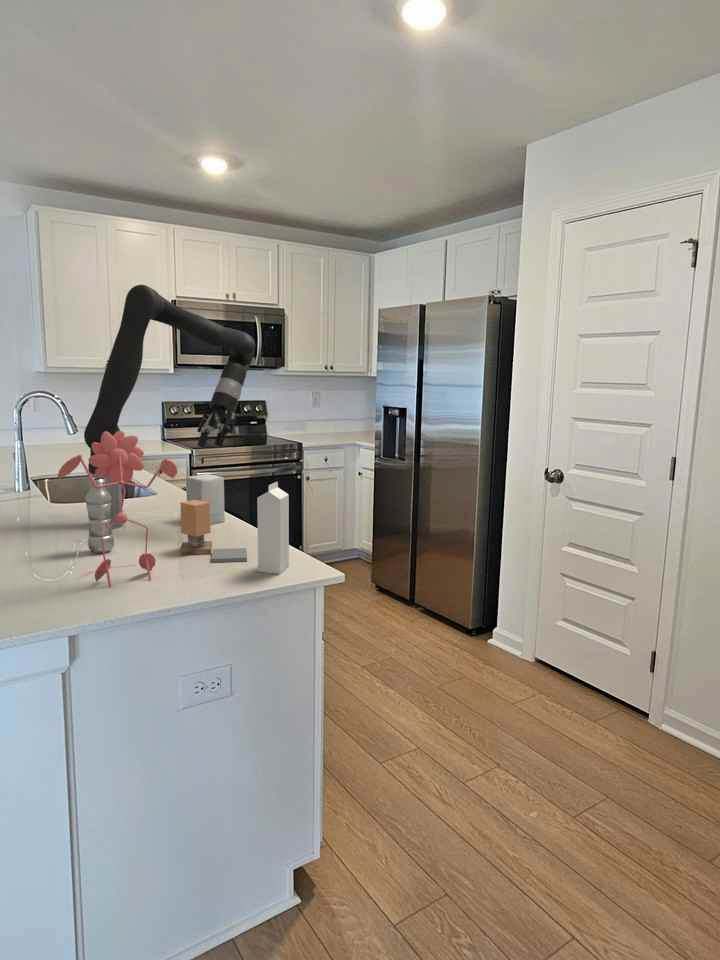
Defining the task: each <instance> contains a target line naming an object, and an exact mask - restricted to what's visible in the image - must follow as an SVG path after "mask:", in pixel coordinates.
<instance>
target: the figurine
mask: <svg viewBox="0 0 720 960" xmlns="http://www.w3.org/2000/svg"><path fill="white" fill-rule="evenodd" d="M138 441H139V438H138V436H137V435H134V434H133V435H125V431H123V430H120V431H118V432H116V433H115V434H114V435H113V436H112V435H111V434H110V433H109V432H107V431H106V432H103V433H102V436H101V443H97V442H94V443H92V450H93V452H94V454H95V455H93V456H91V457H89V458H88V460H87V462H88V464H89V463H90V464H91V465H93V466H95V467H97V469H96V470H95V476H96V477H98V478H100V477H108V481H109V482H110V484H105V485H100V486H96V484H95V482H94V480H93V478H92V476H91V474H90V472H89V470H88V466H87V465H86V463H85V461H84V459H83V455H82V454H78V455H76V456H73V457H71V458H70V459H69V460H67V461H66V462H65V463H64V464H63V465H62V466H61V467H60V468H59V470H58V473H57V480H59V479H62V478H64V477H66V476H69V474H71V473H72V472H73V471H75V470H76V468H77V467H79V466H80V463H81V465H82V466H83V468H84V470H85V472H86V474H87V475H88V479H89V478H90V480H91V482H92V483H93V485H94V487H95V486H96V487H95V489H97V488H102V487H107V486H111V485H116V484H120V485H121V487H122V502H121V508H120V513H119V514H117V515H116V517H115V521H114V522H113V523H112V524H111V525H110V526H109V527H108V528H107V529H106V530H105V531H104V532H103V533H102V534H101V542H102V550H103V552H102V556H103V561H102V562H101V563H100V564H99V566H98V567H97V568H96V570H95V571H89V572H86V573H85V574H84V575H82V576H79V577H78V578H77V580H79V579H81V578H82V577H84V576H87V575H90V574H92V573H94V578H95V579H94V580H95V581H96V582H98V581H99V580H101V579H102V577H103V576H104V575H106V579H107V583H108V588H111V587H112V583H111V581H112V580H111V575H110V571H109V570H110V569H114V568H117V566H114V567H113V566H111V562H112V560H111V559H110V558H106V553H105V552H104V544H103V536H102V535H103V534H104V533H105V532H106V531H107V530H108V529H109V528H110V527H111V526H112V525H113V524H114V523H115V522H117V523H118V524H123V525H124V524H126V523H127V521H128V522H131V523H132V524H136V525H138V526H140V527H144V528H146V531H145V532H146V533H145V551H144V553H143V554H140V556H139V558H138V564H139V566H140V568H141V569H143V570H145V571H146V572H147V576H148V580H152V575H151V572H152V570H153V569H154V567H155V565H156V557H155V556H154V555H153V554H152V553H149V552H148V539H149V538H148V536H149V535H148V534H149V528H148V526H147V525H145V524H142V523H139V522H137V521H135V520H131V519H129V518H128V515H127V513H124V512H123V513H122V508H123V507H124V504H125V503H124V502H125V498H126V494H127V491H126V487H125V485H128V486H132V487H138V488H143V489H148V488H150V486H151V485H152V484H153V482H154V480H155V479H156V477H157V476H158V475H159V473H160V472H163V474H165V475H166V476H168V477H170V478H171V479H174V478H175V477H176V475H177V474H178V467H177V465H176V463H175V462H174V461H172V460H170V459H168V458H166V457H165V458H164V459H163V460H161V461H160V465H159V467H158V469H157V470H156V472H155V473H154V474H153V476H152V478H151V479H150V481H149V482H148V484H147V485H142V484H139V483H133V482H131V481H132V480H133V476H134V471H137V472H139V471H143V470H144V469H145V468H144V467H145V465H144V463H143V461H142V459H141V458H142V457H143V456H144V454H145V451H144V450H143V449H141V448H140V447H139V446H137V444H138ZM120 480H121V481H120ZM119 481H120V482H119ZM135 566H136V564H135V565H134V564H133V565H128V567H135ZM122 567H123V568H124V567H125V565H121V566H118V568H122ZM174 574H175V575H176V573H174Z"/></svg>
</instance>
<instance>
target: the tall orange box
mask: <svg viewBox="0 0 720 960" xmlns="http://www.w3.org/2000/svg"><path fill="white" fill-rule="evenodd" d="M180 529H181V531H180V533H181V534H184V535H187V536H188V535H191V536H196V537H197V536H201V535H204V536H205V535H208V534H211V524H210V503H209V502H204V501H199V500H191V501H187V500H185V501H183V502H180Z"/></svg>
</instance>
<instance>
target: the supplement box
mask: <svg viewBox="0 0 720 960" xmlns="http://www.w3.org/2000/svg"><path fill="white" fill-rule="evenodd" d="M224 480H225V478H224V476H218V475H214V474H209V473H206V474H198V475H192V476H191V475H190V476H186V477H185V486H186V488H185V490H186V501H191V500H199V501H204V502H209V503H210V525H214V524H215V525H216V524H220V523H225V521H226V519H225V481H224Z"/></svg>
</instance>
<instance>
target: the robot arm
mask: <svg viewBox="0 0 720 960" xmlns="http://www.w3.org/2000/svg"><path fill="white" fill-rule="evenodd" d="M125 296H126V297H125V301H124V307H123V311H122V317H121V322H120V326H119V327H118V328H119V329H118V332H117V335H116V337H115V340H114V343H113V345H112V348H111V352H110V355H109V357H108V359H107V363H106V366H105V370H104V372H103V376H102V381H101V385H100V388H99V392H98V397H97V401H96V404H95V407H94V409H93V411H92V414H91V416H90V418H89V420H88V423H87V424H86V427H85V428H84V434H83V438H84V442H85V444H86V446H87V447H88V448H89V450H90V455H89V456H90V457H91V456H93V455H95V454H94V452H93V450H92V443H94V442H97V443H101V436H102V433H103V432H106V431H107V432H109V433H110V434H111V435H112V436H113V435H114V434H115V433H116V432H118V431H121V429H120V427H119V426H118V425H119V421H120V417H121V414H122V411H123V408H124V406H125V404H126V403H127V402H128V399H129V398H130V396H131V394H132V392H133V390H134V388H135V385H136V383H137V381H138V378H139V375H140V371H141V367H142V363H143V357H144V340H145V335H146V332H147V328H148V327H149V323H150V322H151V321H154V322H158V323H161V324H165V325H168V326H170V327H172V328H175V329H176V330H179V331H180V332H182V333H184V334H186V335H187V336H189V337H190V338H193V339H195V340H197V341H199V342H201V343H203V344H205V345H207V346H209V347H212V348H213V349H214V348H215V349H221V348H225V349H227V350H230V353H229V356H228V358H227V363H225V365H224V366H223V368H222V371H221V374H220V378H219V379H218V382H217V384H216V387H215V389H214V392H213V393H212V396H211V397H212V398H211V400H210V402H209V407H210V410H211V412H210V413H209V415H208V414H206V413H203V415H202V417H201V419H200V422H199V425H198V427H197V429H196V431H197V432H198V433H199V434H200V435H199V438H198V441H197V445H196V446H198V447H200V448H201V449H202V448H203V449H204V448H206V444H207V441H208V439H209V436H210V435H211V434H212V433H214V432H215V431H216V430H217V429H218V432H217V435H216V438H215V441H214V443H213V444H214V446H216V447H219V448H221V447H223V444H224V441H225V438H226V436H228V435H229V434H232V433H233V430H234V427H235V423H236V421H237V417H238V415H237V413H235V412H236V410H237V406H238V405H239V401H240V399H241V398H240V397H241V395H242V389H243V385H244V384H245V383H244V382H245V379H246V377H247V373H248V371H249V369H250V366H251V364H252V361H253V359H254V355H255V350H256V342H255V340H254V338H253V337H252V336H251V335H249V334H248V333H247V332H244V331H242V330H238V329H234V328H231V327H225V326H223V325H221V324H220V323H217V322H215V321H213V320H210V319H209V318H206V317H204V316H202V315H199V314H196V313H193V312H190V311H188V310H186V309H184V308H182V307H179V306H178V305H176V304H174V303H172V302H170V301H169V300H168V299H166V298H165V297H163V296H162V295H161V294H159V292H158V291H156V290H155V289H153V288H152V287H150V286H149V285H145V284H137V285H134V286H133V287H131V288H130V289H129V291H128V292H127V294H126V295H125ZM90 457H89V458H90ZM87 465H88V466H87V468H88V470H89V472H90V474H91V476H92V478H98V477H96V476H95V470H96V469H97V467H95V466H93V465H91V464H90V463H89V462H88V464H87ZM100 478H105V484H110V482H109V481H108V477H100ZM88 481H89V483H88V485H89V490H90V489H91V487H90V478H89V477H88ZM120 481H121V480H120ZM120 481H119V482H120ZM105 489H106V490H107V491H108V492H109V494H110V495H111V510H110V522H111V524H112V523H113V522H114V521H115V517H116V515H117V514H119V513H120V508H121V502H122V496H123V489H122V486H121V485H120V484H116V485H111V486H107V487H105ZM122 513H124V511H123V508H122ZM123 525H124V524H118V523H117V522H115V523H114V524H113V525H112V526H111V529H116V528H120V527H122V526H123Z"/></svg>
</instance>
